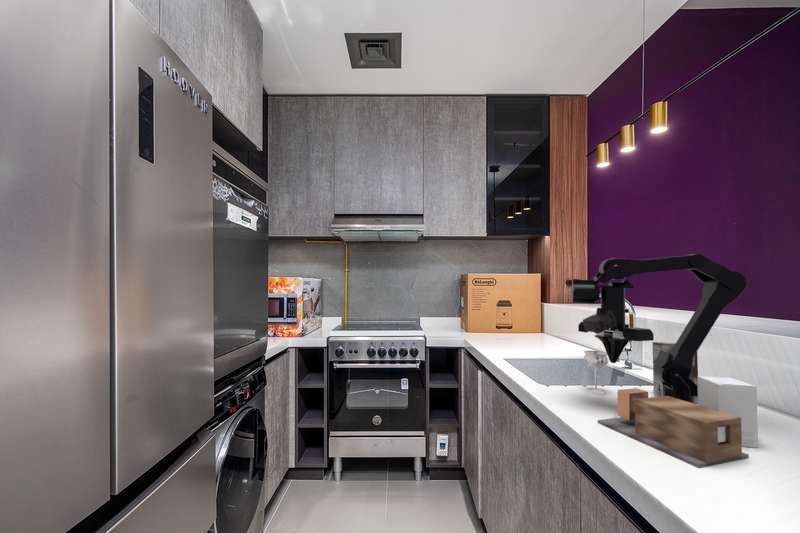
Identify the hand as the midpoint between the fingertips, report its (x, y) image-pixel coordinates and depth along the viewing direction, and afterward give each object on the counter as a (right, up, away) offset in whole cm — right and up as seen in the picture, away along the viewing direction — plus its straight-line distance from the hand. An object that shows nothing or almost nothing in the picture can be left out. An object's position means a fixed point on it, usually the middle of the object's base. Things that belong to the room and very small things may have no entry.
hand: (613, 362), depth 98 cm
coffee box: (+23, -13, +8) cm, 28 cm away
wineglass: (+3, -13, +14) cm, 20 cm away
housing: (0, -11, -20) cm, 22 cm away
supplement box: (+13, -12, -19) cm, 26 cm away
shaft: (0, -9, -20) cm, 22 cm away
